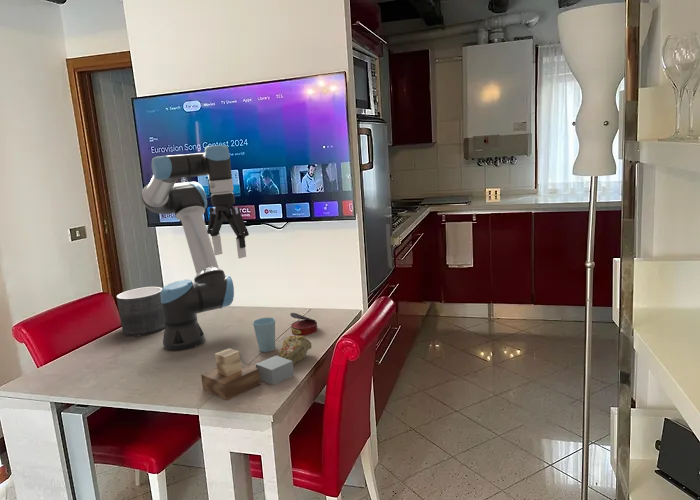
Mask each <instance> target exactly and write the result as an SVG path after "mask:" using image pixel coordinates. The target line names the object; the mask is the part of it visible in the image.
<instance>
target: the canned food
mask: <svg viewBox="0 0 700 500" xmlns="http://www.w3.org/2000/svg"><path fill="white" fill-rule="evenodd" d="M289 315H290V317H292V318H294V319H298V320H296V321H294V322H292V323H291V324H290V328H291V333H292V334H293V336H300V335H302V336H308V335H312V334H315V333H317V332H318V322H317V320H316V319H313V318H309V317H307V316H304V315H301V314H298V313H296V312H290V314H289Z"/></svg>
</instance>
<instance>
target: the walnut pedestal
mask: <svg viewBox="0 0 700 500" xmlns="http://www.w3.org/2000/svg"><path fill="white" fill-rule="evenodd" d="M240 363H241V371H239V372H237V373H235V374H232V375H230V376H228V377H227V376H225V375H222V374H219V373H218V372H217V367H216V368H213V369H211V370H208V371H206V372H203V373H201V374H200V377H201V385H202V390H203V391H205V392H207V393H209V394H211V395H214V396H216V397H219V398H221V399H223V400H225V401H228V400H230V399H232V398H235V397H237V396H239V395H241V394H244V393H246V392H247V391H250V390H251V389H252V390H253V388H256V387H258V386H260V385H261V380H260V378H259V370H258V368H256V366H251V365H249V364H246V363H242V362H240Z"/></svg>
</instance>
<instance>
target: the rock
mask: <svg viewBox="0 0 700 500" xmlns="http://www.w3.org/2000/svg"><path fill="white" fill-rule="evenodd" d="M282 343H283V344H282V346H281V348H280V350H278V351H279V352H278V356H279V357H282V358H285V359H288V360H291V361H292V362H293V364H294V365H295V364H296V363H299V362H301V361H302V359H303V360H304V359H305V358H306V355H307V353H308V351H309V350H311V349H312V346H313V345H312V342H311V341H310V340H309V339H307V337H305V335H303V336H302V335H300V336H299V335H290V336H289V337H286V338H285V339H284V340H283V342H282ZM300 360H301V361H300Z"/></svg>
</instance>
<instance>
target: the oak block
mask: <svg viewBox="0 0 700 500" xmlns="http://www.w3.org/2000/svg"><path fill="white" fill-rule="evenodd" d="M214 357H215V364H216V368H217V372H218V373H219V374H222V375H225V376H227V377H228V376H230V375H232V374H235V373H237V372H239V371H241V363H242V362H241V356H240V351H239V350H235V349H232V348H226V349H224V350H221V351H218V352H216V353H214Z"/></svg>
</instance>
